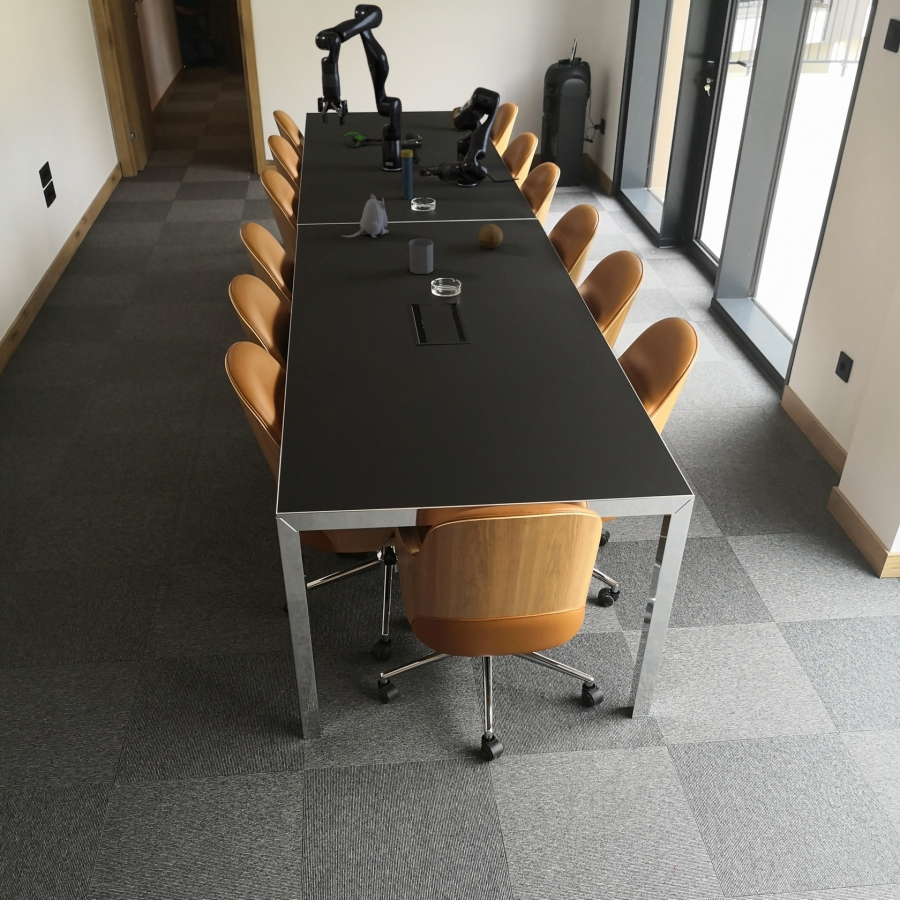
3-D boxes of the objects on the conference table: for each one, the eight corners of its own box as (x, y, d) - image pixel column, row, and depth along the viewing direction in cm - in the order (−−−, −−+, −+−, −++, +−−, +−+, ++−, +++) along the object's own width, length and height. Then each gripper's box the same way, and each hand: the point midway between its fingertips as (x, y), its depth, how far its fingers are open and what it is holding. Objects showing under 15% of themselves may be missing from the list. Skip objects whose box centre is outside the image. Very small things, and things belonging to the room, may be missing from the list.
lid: (401, 154, 374) (401, 149, 373) (413, 154, 373) (413, 149, 372) (399, 157, 370) (399, 152, 368) (411, 157, 369) (411, 152, 368)
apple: (471, 132, 486) (471, 108, 479) (451, 132, 486) (451, 108, 479) (470, 128, 495) (471, 104, 488) (452, 128, 495) (452, 104, 488)
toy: (394, 233, 341) (393, 195, 333) (349, 248, 327) (347, 208, 319) (379, 228, 347) (377, 190, 338) (334, 242, 332) (331, 203, 324)
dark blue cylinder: (403, 196, 383) (402, 150, 373) (413, 197, 383) (412, 150, 372) (402, 199, 380) (400, 153, 369) (412, 200, 379) (411, 153, 368)
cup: (409, 265, 311) (408, 238, 306) (432, 265, 312) (431, 238, 307) (410, 274, 304) (409, 246, 299) (433, 273, 305) (433, 246, 299)
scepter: (399, 128, 463) (342, 126, 461) (399, 144, 456) (341, 141, 454) (398, 138, 468) (343, 136, 466) (398, 153, 461) (342, 151, 459)
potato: (500, 240, 334) (501, 219, 330) (505, 252, 323) (505, 231, 318) (475, 240, 334) (475, 220, 330) (479, 253, 322) (479, 232, 318)
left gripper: (350, 84, 364) (352, 124, 372) (322, 81, 370) (325, 121, 378) (339, 87, 358) (342, 128, 367) (311, 84, 364) (315, 124, 373)
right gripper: (464, 161, 351) (442, 163, 364) (435, 162, 343) (413, 164, 356) (465, 180, 353) (443, 182, 366) (436, 181, 345) (414, 183, 358)
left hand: (333, 124), depth 373 cm, fingers open, 8 cm apart
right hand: (428, 173), depth 361 cm, fingers open, 8 cm apart
